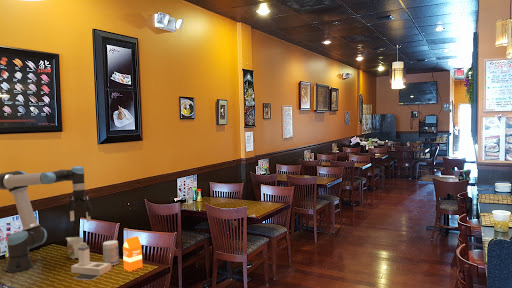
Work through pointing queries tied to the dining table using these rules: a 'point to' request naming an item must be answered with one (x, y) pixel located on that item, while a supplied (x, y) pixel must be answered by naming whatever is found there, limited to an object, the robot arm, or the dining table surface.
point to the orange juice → (132, 253)
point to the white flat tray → (91, 268)
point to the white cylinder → (84, 255)
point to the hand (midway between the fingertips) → (80, 221)
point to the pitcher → (74, 246)
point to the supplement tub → (111, 252)
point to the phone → (86, 277)
